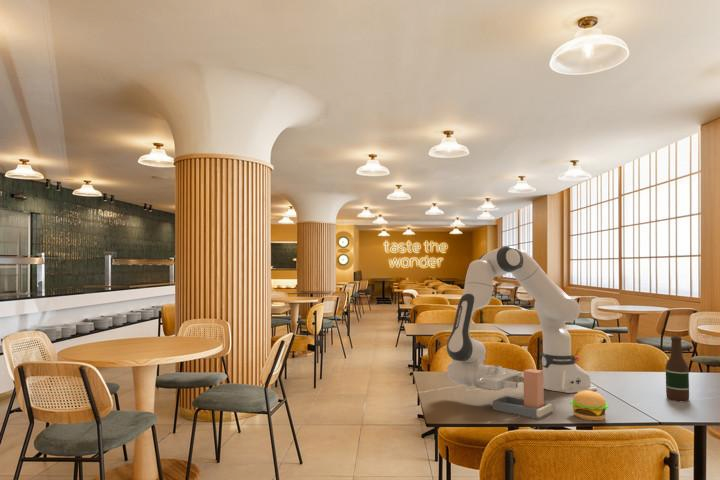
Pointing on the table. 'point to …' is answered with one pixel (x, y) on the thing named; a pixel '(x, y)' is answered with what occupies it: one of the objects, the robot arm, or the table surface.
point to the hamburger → (589, 405)
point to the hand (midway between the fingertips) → (522, 383)
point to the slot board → (521, 407)
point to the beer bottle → (677, 373)
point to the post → (533, 388)
